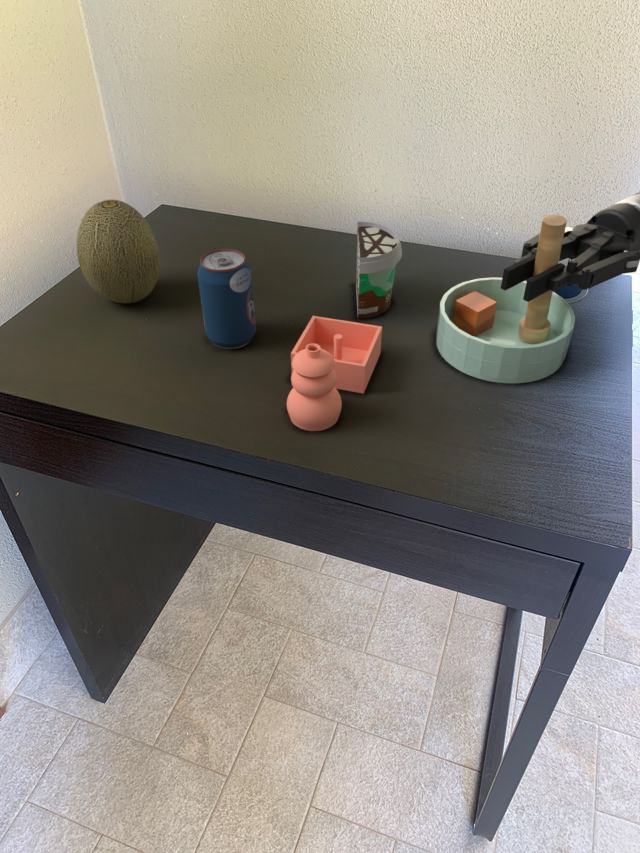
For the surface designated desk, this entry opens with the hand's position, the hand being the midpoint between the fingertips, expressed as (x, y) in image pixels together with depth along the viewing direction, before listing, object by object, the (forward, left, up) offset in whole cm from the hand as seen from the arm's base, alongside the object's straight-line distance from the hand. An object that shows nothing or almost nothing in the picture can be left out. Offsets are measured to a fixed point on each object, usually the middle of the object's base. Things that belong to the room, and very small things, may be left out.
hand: (516, 285), depth 83 cm
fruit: (+46, +31, -11) cm, 57 cm away
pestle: (0, -6, -10) cm, 12 cm away
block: (+7, -2, -10) cm, 13 cm away
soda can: (+27, +25, -11) cm, 38 cm away
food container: (+21, +3, -11) cm, 24 cm away
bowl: (+2, -2, -11) cm, 11 cm away
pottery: (+10, +22, -11) cm, 26 cm away
